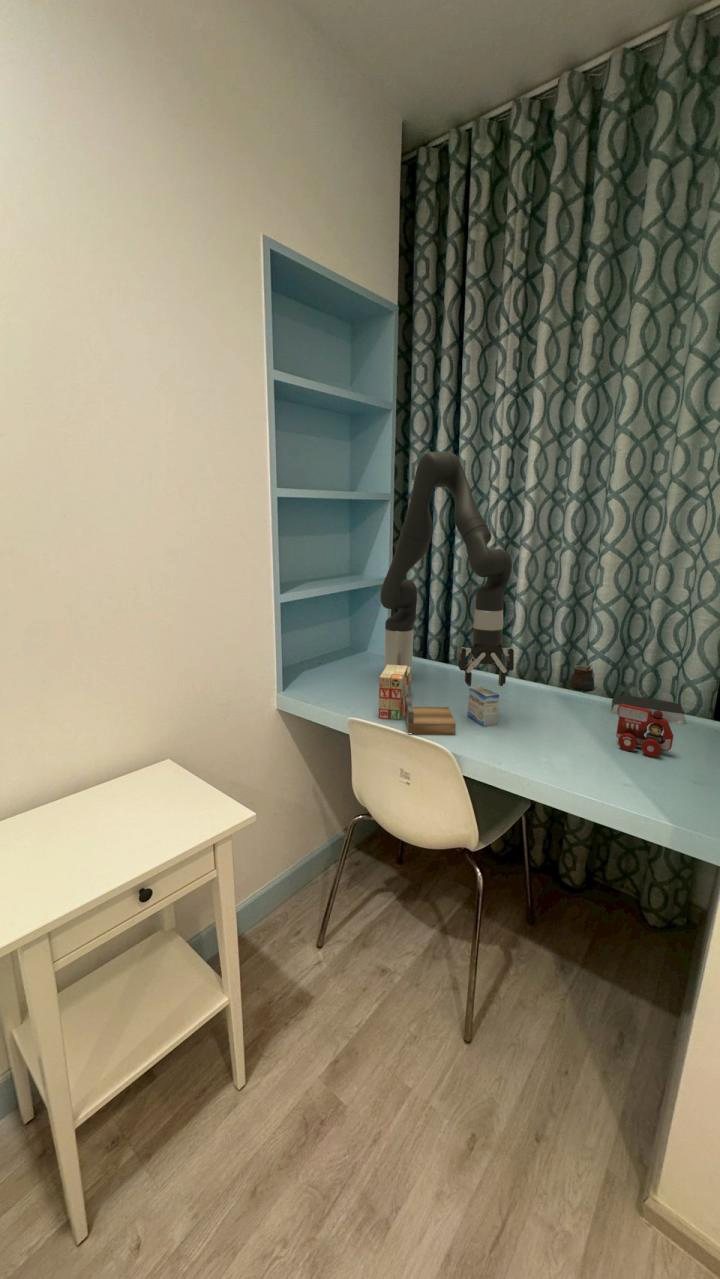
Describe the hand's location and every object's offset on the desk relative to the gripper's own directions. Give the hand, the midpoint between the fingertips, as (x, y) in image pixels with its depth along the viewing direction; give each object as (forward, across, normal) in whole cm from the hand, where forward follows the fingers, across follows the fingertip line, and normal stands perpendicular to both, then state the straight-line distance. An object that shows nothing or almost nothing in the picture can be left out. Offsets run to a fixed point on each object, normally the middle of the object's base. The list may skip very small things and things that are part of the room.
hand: (484, 685), depth 144 cm
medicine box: (+10, 0, 0) cm, 11 cm away
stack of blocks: (+10, +23, -11) cm, 28 cm away
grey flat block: (+11, -48, -6) cm, 49 cm away
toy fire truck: (+11, -35, +16) cm, 40 cm away
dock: (+10, +15, +4) cm, 19 cm away
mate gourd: (+10, -37, -26) cm, 46 cm away
